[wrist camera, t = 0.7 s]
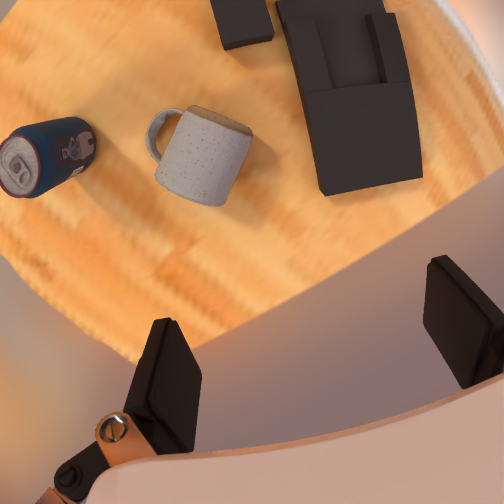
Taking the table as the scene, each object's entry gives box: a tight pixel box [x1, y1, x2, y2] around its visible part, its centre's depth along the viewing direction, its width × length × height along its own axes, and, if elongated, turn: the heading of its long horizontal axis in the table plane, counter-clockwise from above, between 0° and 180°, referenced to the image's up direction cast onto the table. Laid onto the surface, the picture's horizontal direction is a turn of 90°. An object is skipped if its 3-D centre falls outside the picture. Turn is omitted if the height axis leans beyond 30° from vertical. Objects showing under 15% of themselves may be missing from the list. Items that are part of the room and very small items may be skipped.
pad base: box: [276, 0, 423, 196], centre depth 29 cm, size 22×12×3 cm, turn 14°
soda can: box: [0, 117, 96, 198], centre depth 27 cm, size 7×7×12 cm
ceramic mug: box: [146, 105, 253, 206], centre depth 29 cm, size 11×8×8 cm
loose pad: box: [210, 0, 274, 51], centre depth 25 cm, size 7×5×4 cm
